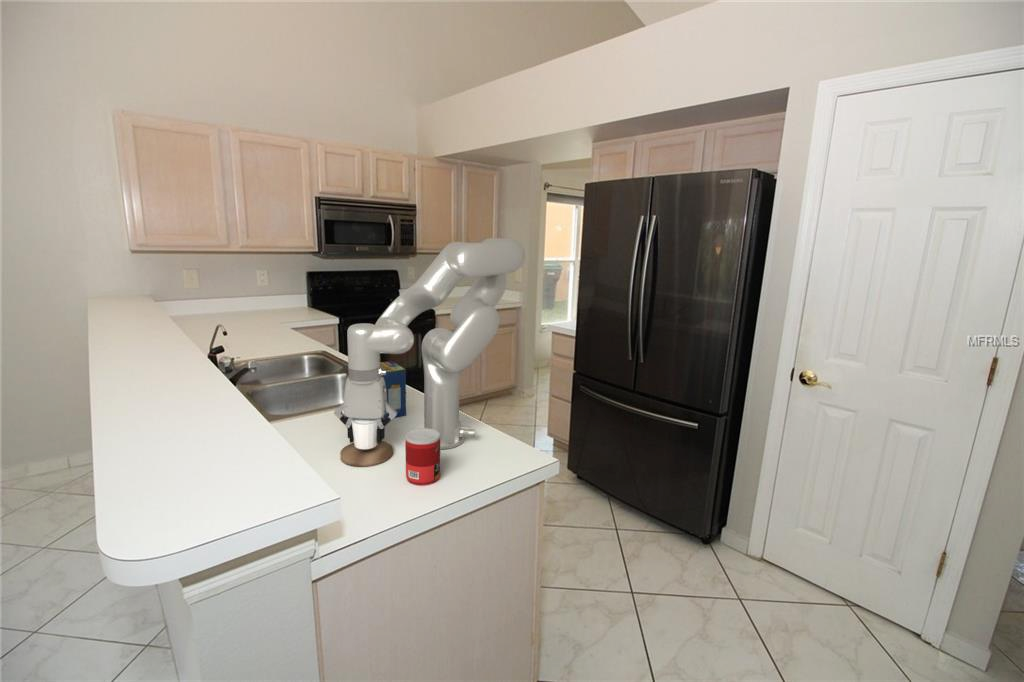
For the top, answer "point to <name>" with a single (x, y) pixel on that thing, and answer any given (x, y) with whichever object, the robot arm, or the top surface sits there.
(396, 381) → the protein box
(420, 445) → the canned food
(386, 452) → the brown round coaster
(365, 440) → the white cup
